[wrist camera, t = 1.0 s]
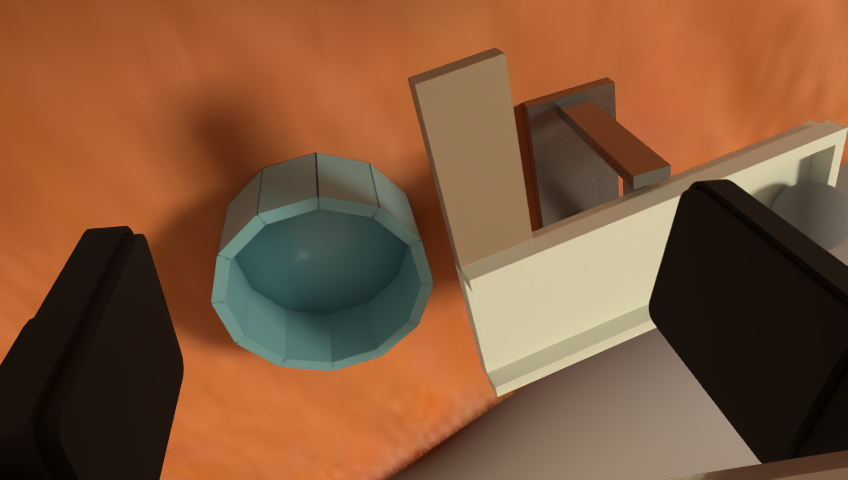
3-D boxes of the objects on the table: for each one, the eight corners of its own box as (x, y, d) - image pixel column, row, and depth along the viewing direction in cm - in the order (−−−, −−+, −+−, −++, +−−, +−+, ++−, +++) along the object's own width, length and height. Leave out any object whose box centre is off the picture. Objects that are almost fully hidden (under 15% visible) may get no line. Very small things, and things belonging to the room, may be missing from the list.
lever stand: (607, 77, 38) (708, 147, 29) (614, 221, 45) (697, 316, 36) (522, 102, 38) (595, 181, 29) (542, 243, 45) (606, 343, 36)
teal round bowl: (388, 131, 38) (401, 171, 33) (433, 284, 45) (449, 335, 40) (189, 190, 37) (172, 239, 32) (268, 334, 45) (264, 391, 40)
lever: (822, -76, 27) (891, -73, 25) (775, 229, 38) (819, 255, 35) (399, 70, 25) (424, 93, 22) (474, 357, 35) (497, 396, 32)
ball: (803, 160, 33) (879, 185, 30) (793, 217, 35) (863, 245, 32) (755, 190, 32) (829, 218, 28) (748, 246, 34) (815, 278, 31)
